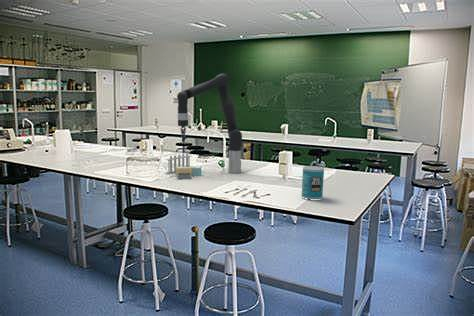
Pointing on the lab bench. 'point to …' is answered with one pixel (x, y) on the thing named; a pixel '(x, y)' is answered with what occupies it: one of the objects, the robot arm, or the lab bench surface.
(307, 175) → the food can
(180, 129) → the robot arm
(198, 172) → the stub
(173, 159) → the test tube rack
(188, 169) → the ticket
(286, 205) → the lab bench surface
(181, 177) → the tray
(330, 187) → the lab bench surface
